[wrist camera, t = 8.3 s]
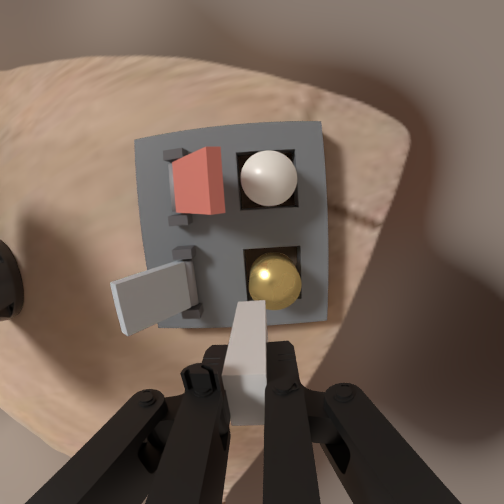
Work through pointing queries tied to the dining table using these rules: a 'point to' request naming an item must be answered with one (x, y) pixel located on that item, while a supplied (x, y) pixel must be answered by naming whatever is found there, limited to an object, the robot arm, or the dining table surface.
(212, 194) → the paddle red
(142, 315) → the paddle grey
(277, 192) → the button white
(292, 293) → the button brass
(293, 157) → the panel
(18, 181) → the dining table surface
